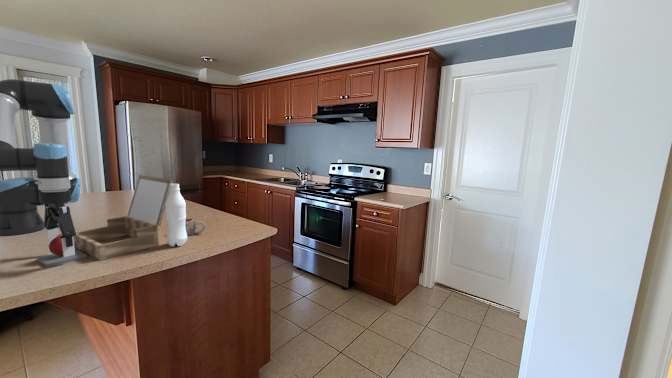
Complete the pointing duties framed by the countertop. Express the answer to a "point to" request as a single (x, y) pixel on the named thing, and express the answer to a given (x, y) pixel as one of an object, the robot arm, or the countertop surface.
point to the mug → (192, 227)
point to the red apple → (56, 246)
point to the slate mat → (60, 258)
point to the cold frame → (137, 229)
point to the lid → (150, 199)
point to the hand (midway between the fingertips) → (61, 251)
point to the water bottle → (176, 217)
